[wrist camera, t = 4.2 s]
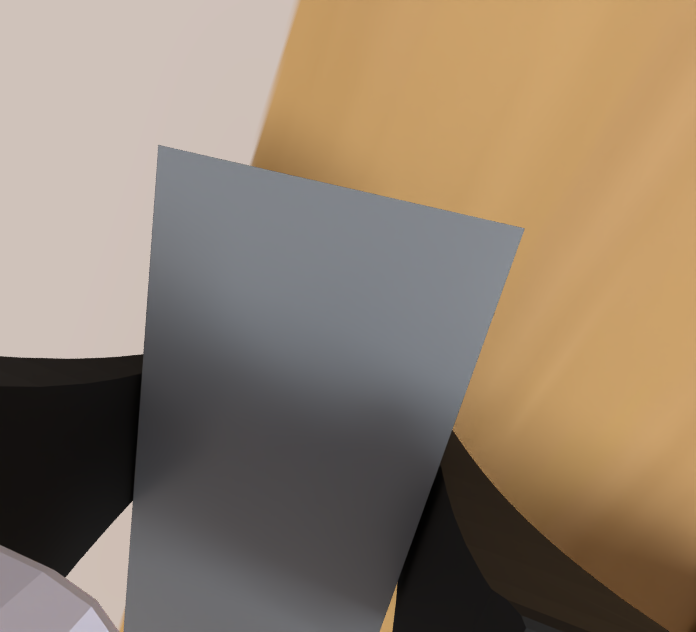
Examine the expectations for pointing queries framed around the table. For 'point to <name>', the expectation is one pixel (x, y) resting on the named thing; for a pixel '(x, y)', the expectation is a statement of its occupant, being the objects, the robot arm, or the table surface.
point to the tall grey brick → (295, 394)
